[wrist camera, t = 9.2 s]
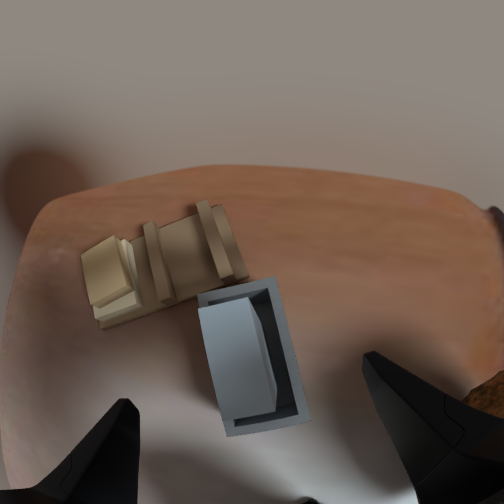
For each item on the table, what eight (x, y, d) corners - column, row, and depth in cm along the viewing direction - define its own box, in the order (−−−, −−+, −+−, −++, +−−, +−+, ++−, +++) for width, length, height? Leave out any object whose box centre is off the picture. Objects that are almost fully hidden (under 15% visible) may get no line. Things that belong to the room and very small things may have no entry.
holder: (303, 407, 17) (310, 420, 13) (238, 420, 17) (226, 436, 13) (276, 293, 21) (275, 276, 17) (213, 307, 21) (197, 294, 17)
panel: (277, 384, 18) (275, 411, 9) (250, 390, 18) (222, 420, 9) (263, 325, 20) (247, 297, 10) (236, 332, 20) (197, 308, 10)
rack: (249, 277, 22) (243, 262, 18) (103, 329, 21) (80, 323, 18) (222, 207, 24) (214, 185, 21) (93, 261, 24) (73, 248, 21)
